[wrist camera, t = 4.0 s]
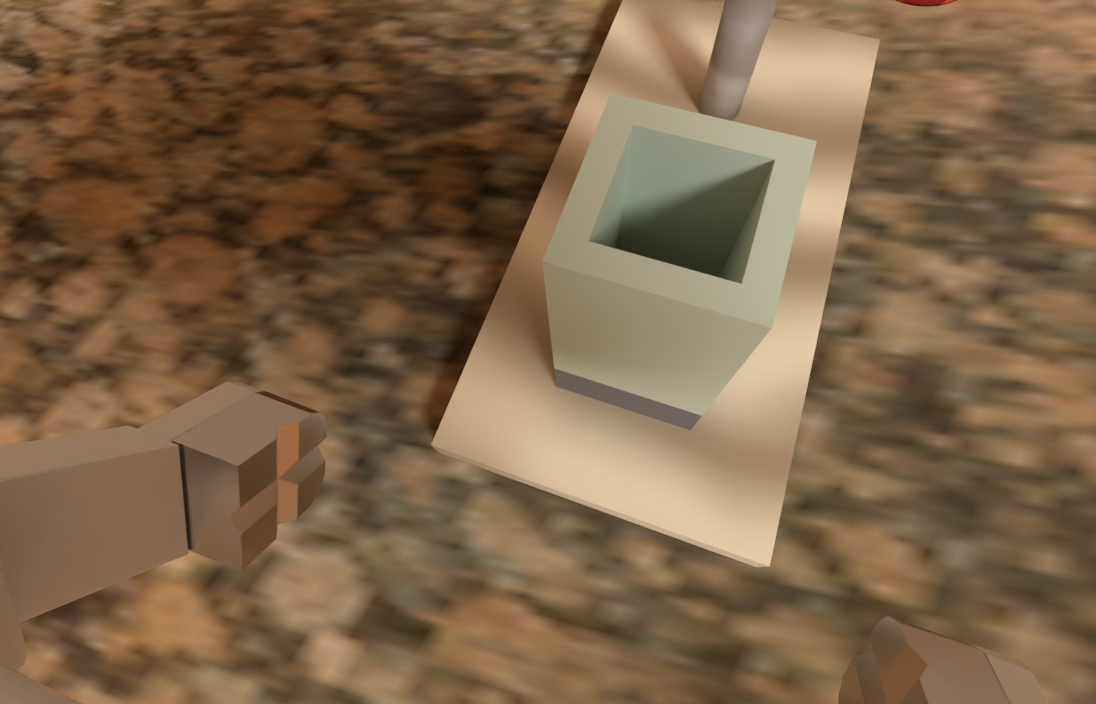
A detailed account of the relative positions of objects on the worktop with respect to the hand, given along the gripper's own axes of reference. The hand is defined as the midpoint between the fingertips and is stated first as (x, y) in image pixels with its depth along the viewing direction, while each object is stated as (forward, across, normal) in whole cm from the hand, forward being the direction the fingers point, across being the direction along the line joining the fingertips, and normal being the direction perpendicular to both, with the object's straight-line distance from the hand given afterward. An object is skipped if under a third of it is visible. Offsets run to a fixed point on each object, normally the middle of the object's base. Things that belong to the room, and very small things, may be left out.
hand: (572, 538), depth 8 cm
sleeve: (+14, 0, +2) cm, 14 cm away
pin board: (+19, 0, -1) cm, 19 cm away
